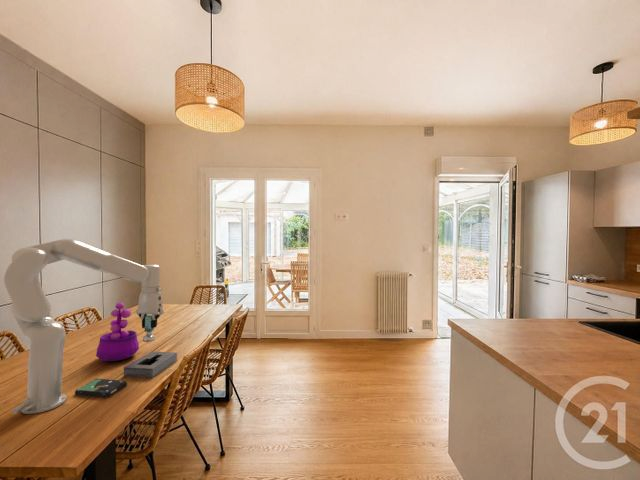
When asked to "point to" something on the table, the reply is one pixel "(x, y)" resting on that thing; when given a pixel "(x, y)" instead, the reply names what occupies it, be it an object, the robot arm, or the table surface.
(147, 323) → the teal rounded piece
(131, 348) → the decorative plant
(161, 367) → the keyhole deck
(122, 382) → the disk drive
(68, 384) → the table surface
